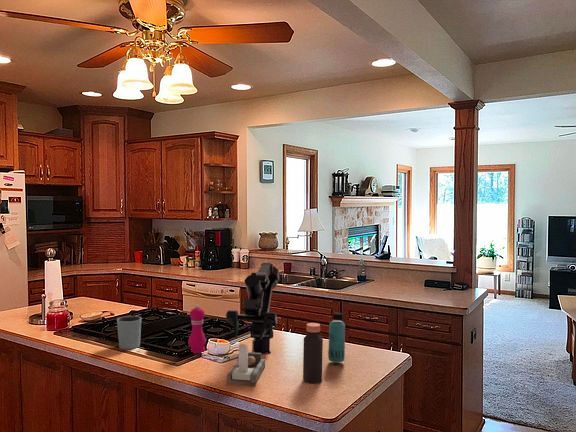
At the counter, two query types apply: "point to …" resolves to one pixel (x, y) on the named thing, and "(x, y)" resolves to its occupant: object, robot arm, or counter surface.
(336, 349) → the beverage bottle
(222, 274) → the counter surface
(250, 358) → the walnut
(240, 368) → the press jaw
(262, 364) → the base plate with post
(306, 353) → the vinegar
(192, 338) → the pepper mill
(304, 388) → the counter surface
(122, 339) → the drinking glass
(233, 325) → the robot arm
